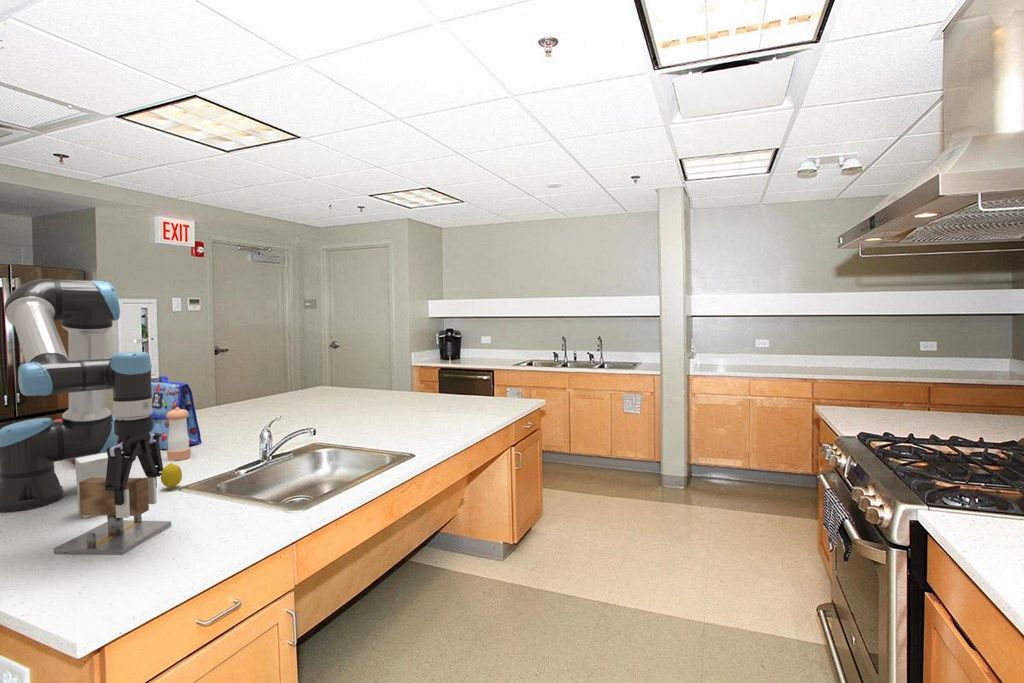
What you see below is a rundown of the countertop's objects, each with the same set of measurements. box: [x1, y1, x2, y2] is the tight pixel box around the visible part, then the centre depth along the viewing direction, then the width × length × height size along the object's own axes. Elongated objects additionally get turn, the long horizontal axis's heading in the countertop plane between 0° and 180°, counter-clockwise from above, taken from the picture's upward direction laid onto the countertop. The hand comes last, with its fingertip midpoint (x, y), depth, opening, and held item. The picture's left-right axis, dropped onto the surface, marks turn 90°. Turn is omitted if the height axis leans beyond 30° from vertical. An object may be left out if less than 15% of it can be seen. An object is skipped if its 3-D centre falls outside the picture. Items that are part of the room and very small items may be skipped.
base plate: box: [53, 514, 172, 556], centre depth 125 cm, size 16×16×6 cm
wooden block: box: [79, 477, 150, 517], centre depth 124 cm, size 14×4×8 cm, turn 88°
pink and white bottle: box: [166, 408, 191, 461], centre depth 192 cm, size 7×7×19 cm
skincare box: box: [74, 452, 108, 519], centre depth 141 cm, size 8×7×16 cm
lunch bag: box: [149, 375, 202, 451], centre depth 210 cm, size 22×14×29 cm, turn 73°
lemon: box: [160, 462, 183, 489], centre depth 160 cm, size 6×6×8 cm
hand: (137, 509), depth 124 cm, fingers open, 8 cm apart
